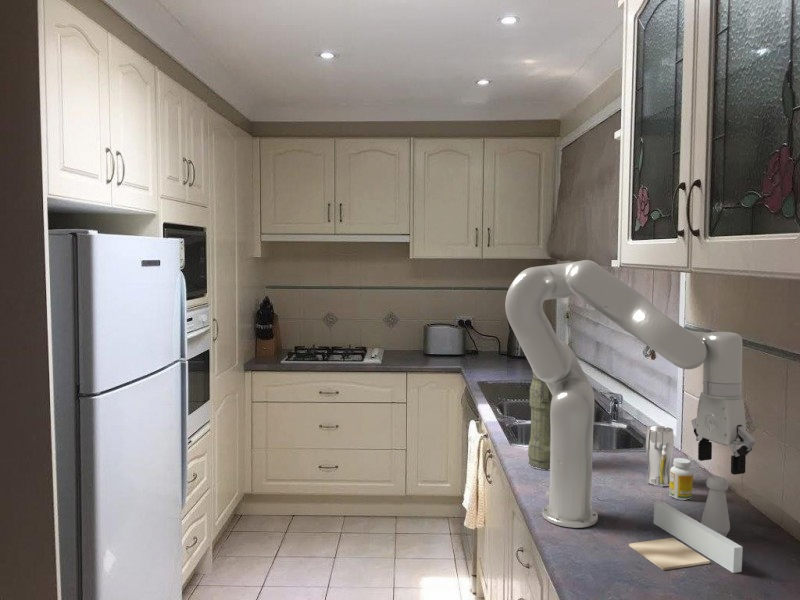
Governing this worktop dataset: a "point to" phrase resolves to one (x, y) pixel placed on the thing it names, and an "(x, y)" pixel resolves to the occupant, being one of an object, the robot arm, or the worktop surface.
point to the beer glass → (659, 454)
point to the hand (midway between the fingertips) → (720, 466)
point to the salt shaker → (716, 506)
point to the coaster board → (669, 553)
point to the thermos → (540, 424)
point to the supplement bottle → (681, 479)
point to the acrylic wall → (699, 537)
